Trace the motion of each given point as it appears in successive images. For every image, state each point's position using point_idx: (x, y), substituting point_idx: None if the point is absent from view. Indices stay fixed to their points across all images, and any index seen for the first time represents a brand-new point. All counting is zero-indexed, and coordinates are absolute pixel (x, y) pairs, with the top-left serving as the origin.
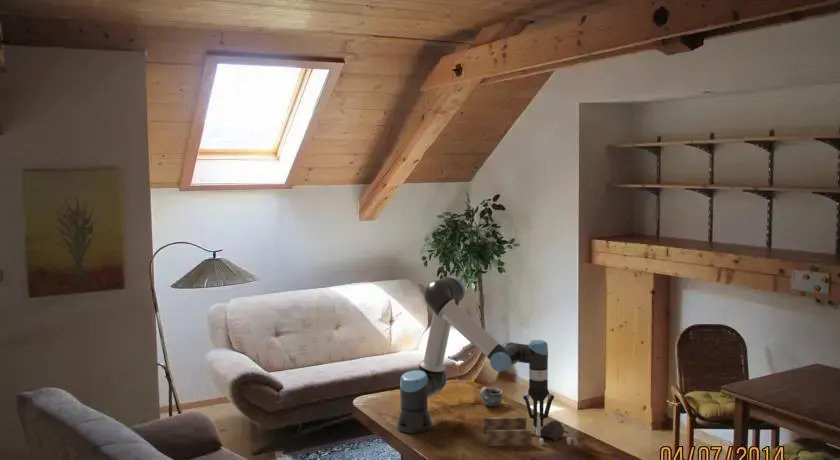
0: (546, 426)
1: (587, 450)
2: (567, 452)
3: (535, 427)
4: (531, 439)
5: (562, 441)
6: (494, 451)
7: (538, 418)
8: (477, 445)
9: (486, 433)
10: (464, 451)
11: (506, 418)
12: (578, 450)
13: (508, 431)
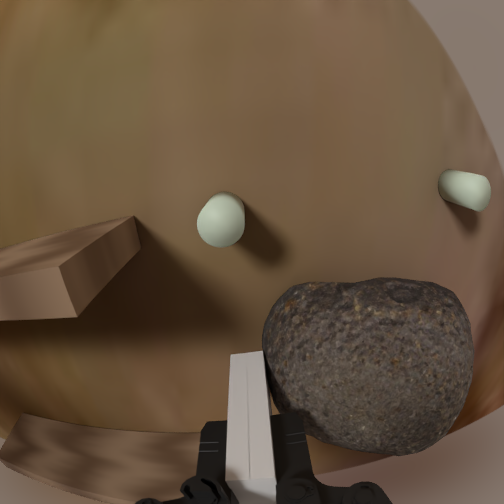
0: (332, 442)
1: (454, 423)
2: (374, 461)
3: (222, 243)
4: None
5: None
6: None
7: (259, 487)
8: (5, 411)
9: (2, 446)
10: (7, 437)
11: None
12: None
13: (79, 494)
